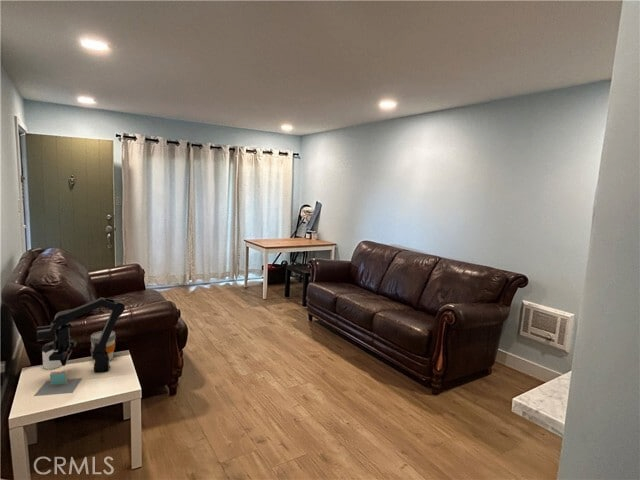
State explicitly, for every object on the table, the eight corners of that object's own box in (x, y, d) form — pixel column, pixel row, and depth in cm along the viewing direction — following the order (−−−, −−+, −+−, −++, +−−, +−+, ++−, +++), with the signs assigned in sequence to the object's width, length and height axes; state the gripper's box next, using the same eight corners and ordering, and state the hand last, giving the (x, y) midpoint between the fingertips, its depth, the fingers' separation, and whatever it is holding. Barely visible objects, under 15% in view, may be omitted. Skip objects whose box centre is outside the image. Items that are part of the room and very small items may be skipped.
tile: (68, 382, 184) (67, 371, 184) (66, 383, 183) (66, 372, 182) (51, 383, 182) (51, 372, 182) (50, 385, 181) (50, 373, 180)
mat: (82, 379, 189) (82, 378, 189) (72, 393, 176) (72, 392, 176) (46, 381, 185) (46, 380, 184) (33, 397, 171) (33, 396, 171)
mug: (65, 366, 200) (64, 347, 198) (45, 372, 193) (44, 352, 192) (59, 359, 208) (58, 340, 206) (39, 364, 201) (39, 345, 200)
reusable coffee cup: (92, 366, 202) (91, 340, 200) (90, 357, 212) (89, 332, 210) (117, 361, 210) (117, 336, 208) (114, 352, 220) (114, 328, 218)
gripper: (52, 330, 192) (53, 358, 194) (35, 345, 174) (37, 376, 176) (76, 329, 195) (77, 356, 197) (62, 344, 177) (63, 374, 179)
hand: (64, 365), depth 187 cm, fingers closed
